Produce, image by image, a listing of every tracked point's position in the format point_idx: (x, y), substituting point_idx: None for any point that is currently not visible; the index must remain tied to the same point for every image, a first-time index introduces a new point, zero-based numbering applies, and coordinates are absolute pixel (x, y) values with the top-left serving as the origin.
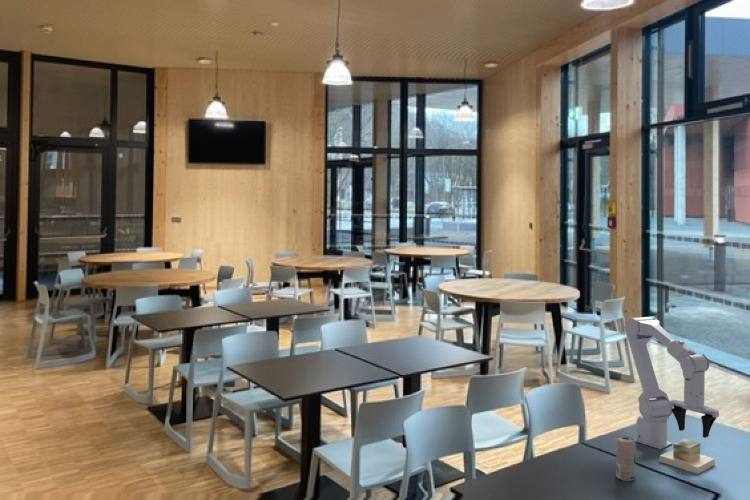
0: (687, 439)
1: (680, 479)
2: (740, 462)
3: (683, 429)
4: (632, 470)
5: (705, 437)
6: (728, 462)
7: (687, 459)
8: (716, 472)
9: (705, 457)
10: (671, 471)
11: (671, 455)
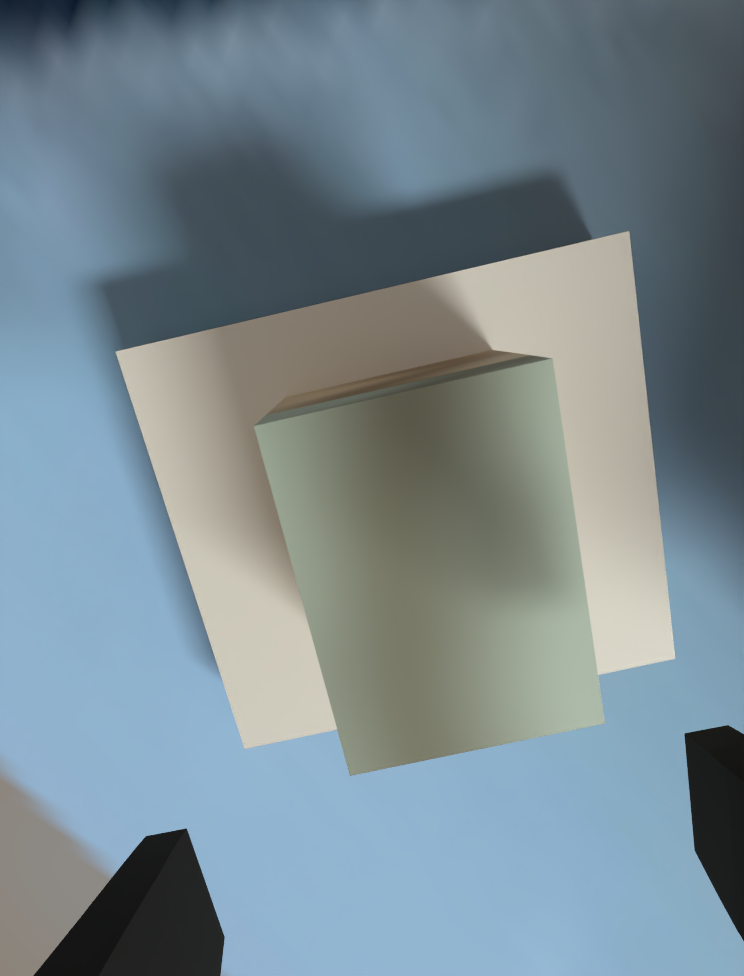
0: (554, 729)
1: (93, 4)
2: None
3: (700, 829)
4: None
5: (135, 849)
6: (248, 853)
7: (301, 395)
8: (107, 569)
9: (312, 691)
10: (321, 118)
11: None
